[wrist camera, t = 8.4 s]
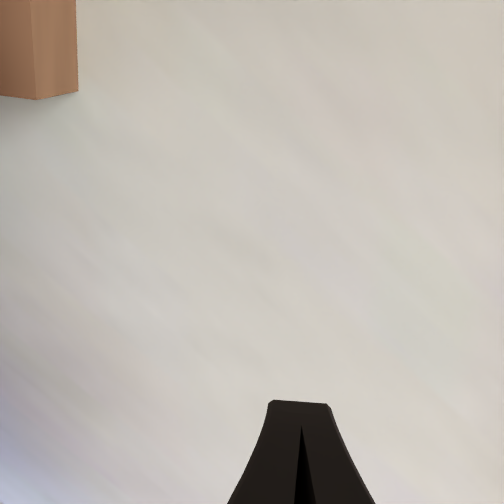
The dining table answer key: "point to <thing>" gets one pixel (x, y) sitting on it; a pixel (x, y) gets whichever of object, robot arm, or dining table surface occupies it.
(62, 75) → the slab
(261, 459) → the robot arm
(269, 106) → the dining table surface
